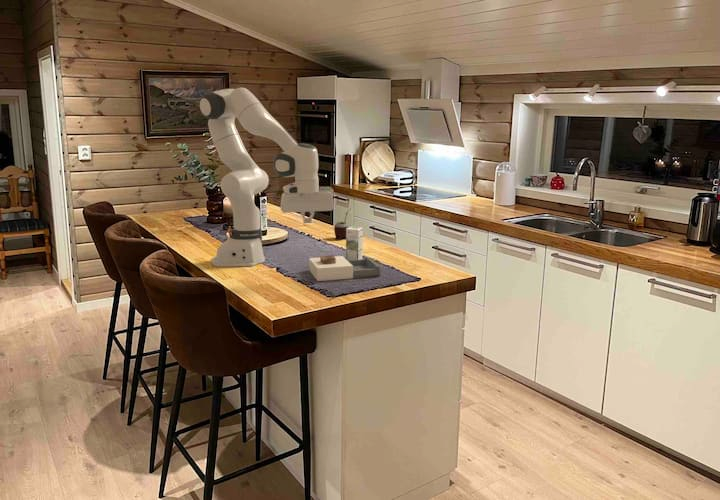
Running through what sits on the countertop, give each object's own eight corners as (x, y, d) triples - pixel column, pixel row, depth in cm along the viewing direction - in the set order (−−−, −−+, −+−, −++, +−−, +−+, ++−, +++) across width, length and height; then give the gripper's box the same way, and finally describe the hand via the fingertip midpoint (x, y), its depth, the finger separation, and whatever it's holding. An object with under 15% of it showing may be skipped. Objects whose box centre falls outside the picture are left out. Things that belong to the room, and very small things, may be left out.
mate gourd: (333, 240, 299) (332, 210, 295) (336, 236, 306) (336, 207, 303) (347, 240, 297) (347, 210, 294) (350, 237, 305) (351, 208, 301)
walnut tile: (323, 264, 235) (323, 259, 234) (320, 260, 239) (320, 256, 239) (335, 263, 236) (335, 258, 236) (332, 260, 241) (332, 255, 240)
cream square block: (317, 281, 230) (317, 268, 229) (309, 270, 245) (308, 258, 243) (353, 278, 234) (353, 265, 232) (342, 267, 249) (342, 255, 247)
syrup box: (362, 259, 262) (363, 226, 258) (358, 262, 256) (358, 229, 253) (350, 258, 264) (350, 225, 260) (345, 261, 258) (345, 228, 255)
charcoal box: (353, 278, 234) (353, 268, 233) (343, 267, 249) (343, 258, 248) (379, 276, 237) (379, 266, 236) (367, 265, 252) (367, 256, 251)
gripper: (331, 185, 234) (331, 220, 237) (279, 186, 228) (280, 222, 232) (335, 187, 228) (335, 223, 232) (282, 189, 223) (282, 225, 226)
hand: (307, 223), depth 232 cm, fingers closed
